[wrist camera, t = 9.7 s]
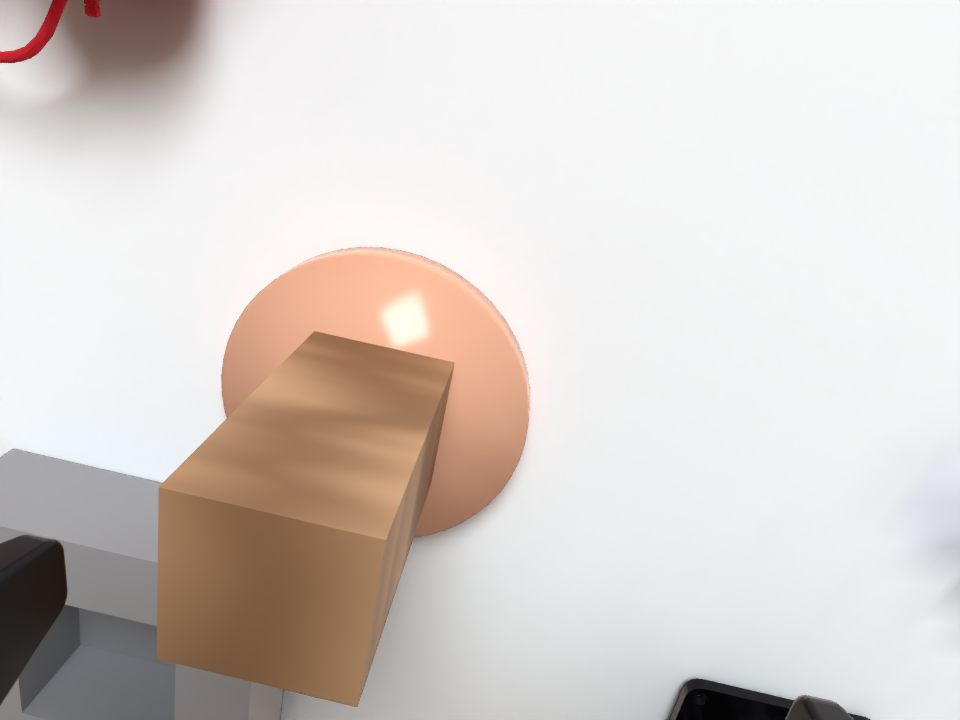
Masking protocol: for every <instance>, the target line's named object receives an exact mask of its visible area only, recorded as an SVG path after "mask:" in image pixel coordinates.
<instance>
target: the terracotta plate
mask: <svg viewBox="0 0 960 720" xmlns="http://www.w3.org/2000/svg"><path fill="white" fill-rule="evenodd" d="M314 331H316V332H321V333H325V334H330V335H334V336H339V337H343V338H348V339H352V340H357V341H361V342H365V343H370V344H374V345H379V346H383V347H388V348H392V349H397V350H401V351H406V352H410V353H415V354H419V355H423V356H428V357H432V358H437V359H441V360H446V361H450V362H455V363H454V368H453V373H452V379H451V384H450V389H449V394H448V399H447V404H446V409H445V415H444V420H443V425H442V430H441V435H440V440H439V445H438V450H437V456H436V461H435V466H434V471H433V476H432V481H431V485H430V488H429V491H428V494H427V497H426V500H425V503H424V506H423V509H422V512H421V515H420V518H419V521H418V525H417V528H416V531H415V534H414V537H420V536H426V535H430V534H433V533H437V532H440V531H444V530H446V529H448V528H451V527H453V526H455V525H458V524H460V523H462V522H463V521H465V520H467V519H468V518H470V517H472V516H473V515H475V514H477V513H478V512H479V511H480V510H482V509H483V508H484V507H485V506H487V505H488V504H489V503H490V502H491V501H492V500H493V499H494V498H495V497H496V496H497V495H498V494H499V492H500V491H501V490H502V489H503V487H504V486H505V485H506V483H507V482H508V480H509V479H510V477H511V476H512V474H513V472H514V470H515V468H516V466H517V464H518V462H519V460H520V457H521V454H522V451H523V448H524V445H525V440H526V434H527V428H528V421H529V411H530V387H529V379H528V372H527V368H526V365H525V361H524V357H523V354H522V352H521V349H520V347H519V344H518V342H517V340H516V337H515V335H514V334H513V332H512V330H511V329H510V327H509V325H508V324H507V322H506V320H505V319H504V317H503V316H502V315H501V314H500V312H499V311H498V310H497V308H496V307H495V306H494V305H493V303H492V302H491V301H490V300H489V299H488V298H487V297H486V296H485V295H484V294H483V293H482V292H481V291H480V290H479V289H478V288H476V287H475V286H474V285H472V284H471V283H470V282H468V281H467V280H466V279H464V278H463V277H462V276H461V275H459V274H457V273H455V272H454V271H452V270H450V269H449V268H447V267H445V266H443V265H441V264H439V263H437V262H434V261H432V260H430V259H427V258H425V257H423V256H419V255H416V254H412V253H409V252H405V251H402V250H395V249H388V248H382V247H357V248H348V249H340V250H336V251H332V252H328V253H324V254H321V255H318V256H316V257H313V258H311V259H309V260H306V261H304V262H302V263H300V264H299V265H297V266H295V267H294V268H292V269H290V270H289V271H287V272H286V273H284V274H283V275H281V276H280V277H278V278H277V279H275V280H274V281H273V282H271V283H270V284H269V285H268V286H267V287H265V288H264V289H263V290H262V291H261V292H259V293H258V294H257V295H256V297H255V298H254V299H253V300H252V301H251V302H250V303H249V304H248V306H247V307H246V308H245V309H244V311H243V313H242V314H241V316H240V317H239V319H238V320H237V322H236V324H235V326H234V328H233V330H232V333H231V335H230V337H229V340H228V343H227V347H226V350H225V354H224V358H223V367H222V375H221V376H222V397H223V403H224V409H225V414H226V417H227V418H228V417H229V416H230V415H231V414H232V413H233V412H234V411H235V410H236V409H237V408H238V407H239V406H240V405H241V404H242V403H243V402H244V401H245V400H246V399H247V398H248V397H249V396H250V395H251V394H252V393H253V392H254V391H255V390H256V389H257V388H258V387H259V386H260V385H261V384H262V383H263V382H264V381H265V380H266V379H267V378H268V377H269V376H270V375H271V374H272V373H273V372H274V371H275V370H276V369H277V368H278V367H279V366H280V365H281V364H282V363H283V362H284V361H285V360H286V359H287V358H288V357H289V356H290V355H291V354H292V353H293V352H294V351H295V350H296V349H297V348H298V347H299V346H300V345H301V344H302V343H303V342H304V341H305V340H306V339H307V338H308V337H309V336H310V335H311V334H312V333H313V332H314ZM414 537H413V538H414Z"/></svg>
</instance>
